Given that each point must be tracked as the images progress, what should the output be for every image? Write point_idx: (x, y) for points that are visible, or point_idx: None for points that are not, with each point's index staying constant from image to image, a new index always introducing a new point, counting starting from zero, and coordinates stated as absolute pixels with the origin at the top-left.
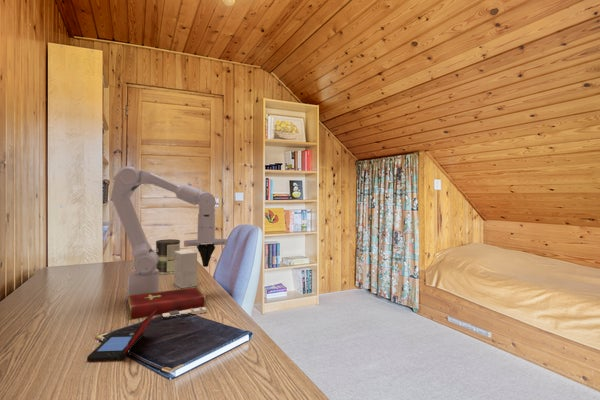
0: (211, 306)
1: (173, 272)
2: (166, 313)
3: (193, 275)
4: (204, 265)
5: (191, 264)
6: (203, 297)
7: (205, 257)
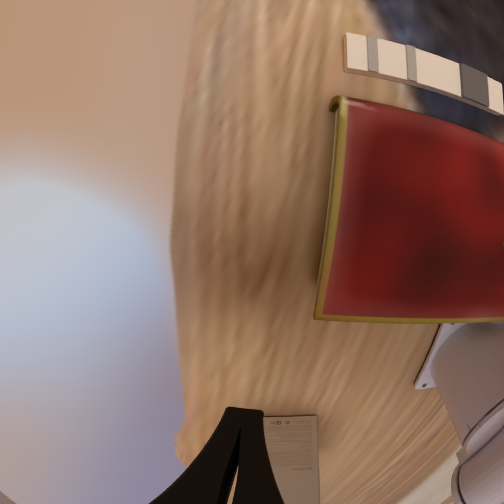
0: (296, 104)
1: None
2: (494, 104)
3: None
4: (261, 419)
5: None
6: (352, 98)
7: (247, 480)
